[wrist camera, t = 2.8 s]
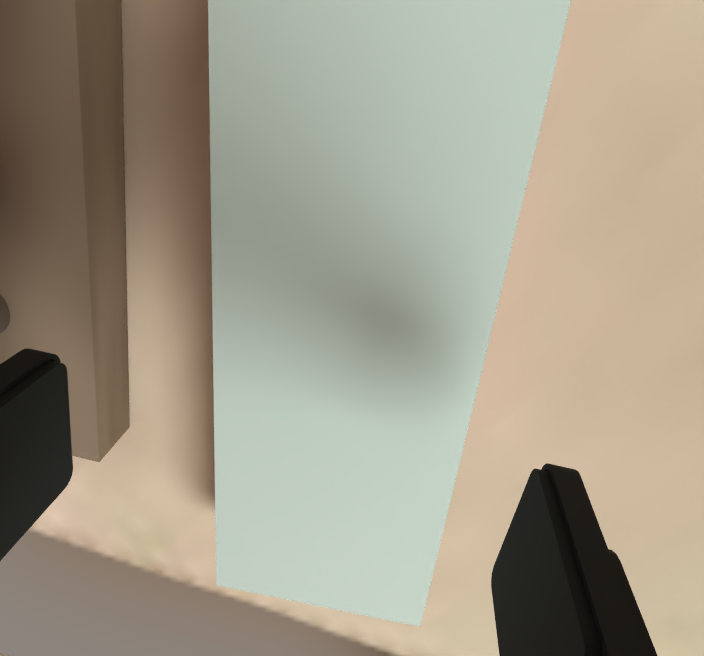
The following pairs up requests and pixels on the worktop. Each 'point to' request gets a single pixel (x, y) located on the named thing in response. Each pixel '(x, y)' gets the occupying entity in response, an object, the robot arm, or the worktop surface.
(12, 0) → the peg stand
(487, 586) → the worktop surface
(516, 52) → the shelf board
